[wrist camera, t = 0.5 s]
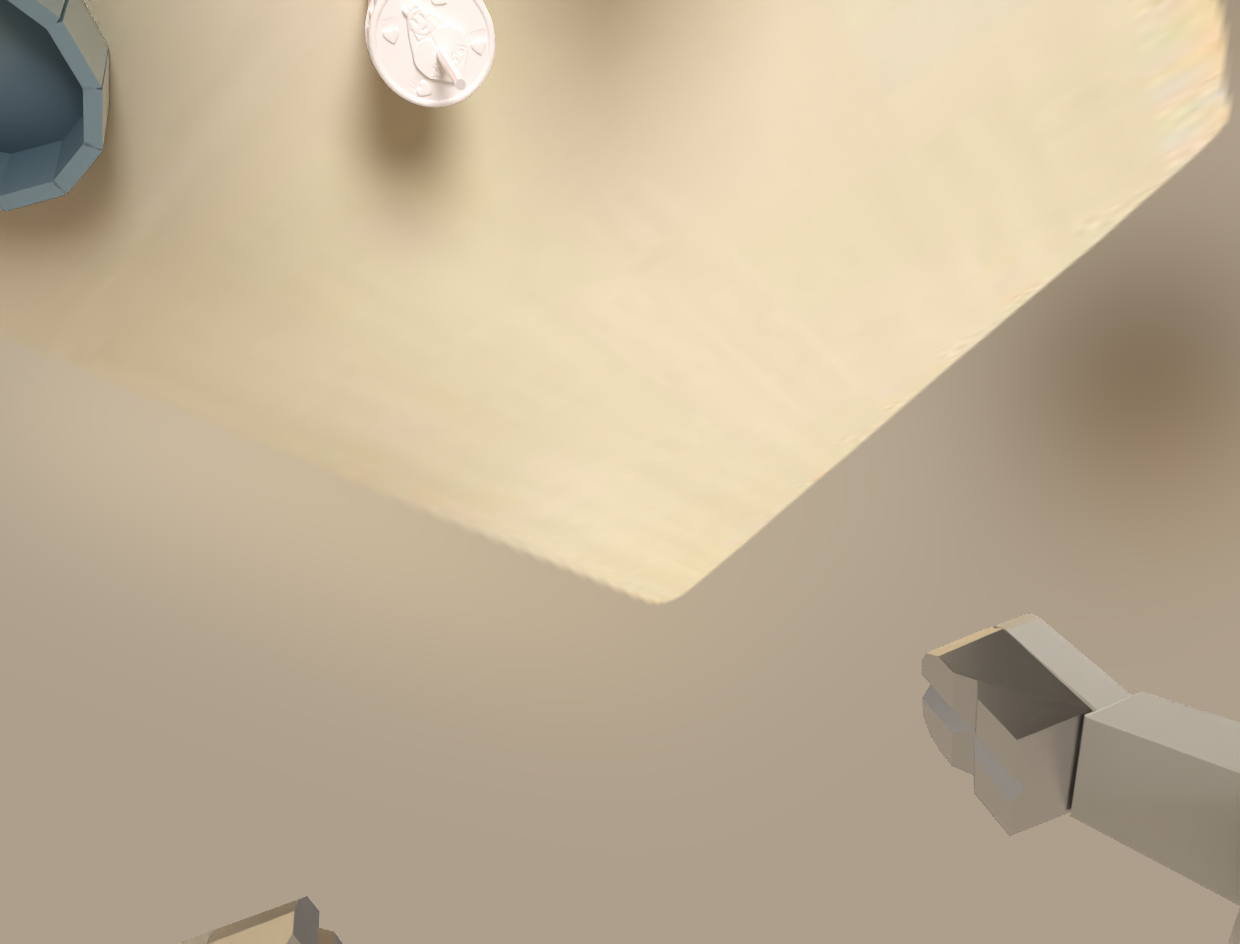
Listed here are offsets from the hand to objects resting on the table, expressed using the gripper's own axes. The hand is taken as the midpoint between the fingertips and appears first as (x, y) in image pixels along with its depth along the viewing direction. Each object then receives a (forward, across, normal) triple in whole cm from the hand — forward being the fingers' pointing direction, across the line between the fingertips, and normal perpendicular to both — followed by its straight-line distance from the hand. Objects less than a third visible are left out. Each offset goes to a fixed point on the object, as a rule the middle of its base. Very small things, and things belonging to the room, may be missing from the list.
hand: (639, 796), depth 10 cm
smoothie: (+49, -3, -11) cm, 50 cm away
